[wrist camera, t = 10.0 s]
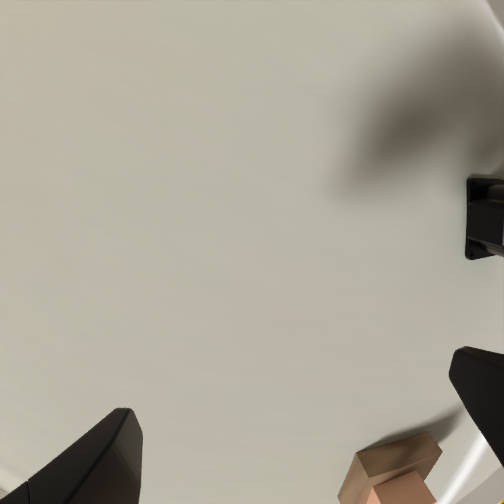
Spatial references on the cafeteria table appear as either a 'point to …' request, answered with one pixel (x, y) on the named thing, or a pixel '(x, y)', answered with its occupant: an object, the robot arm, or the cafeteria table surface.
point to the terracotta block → (402, 491)
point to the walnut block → (388, 466)
